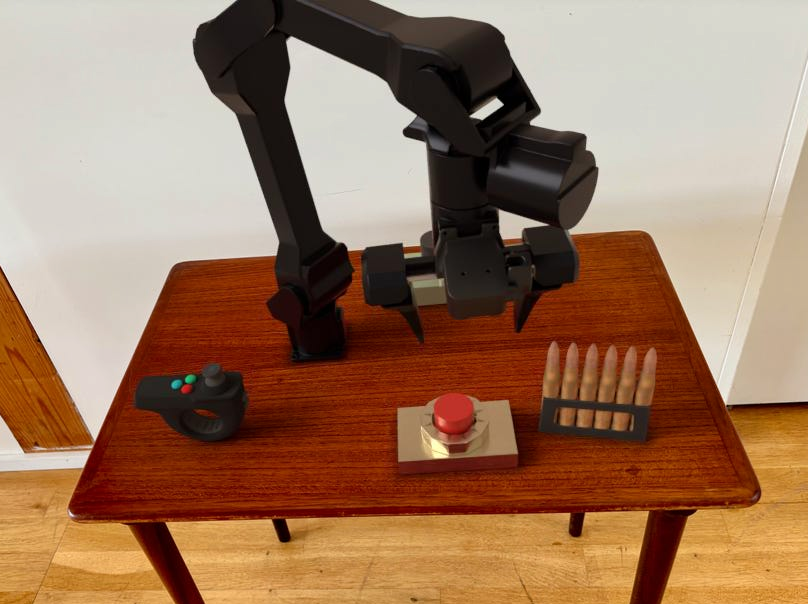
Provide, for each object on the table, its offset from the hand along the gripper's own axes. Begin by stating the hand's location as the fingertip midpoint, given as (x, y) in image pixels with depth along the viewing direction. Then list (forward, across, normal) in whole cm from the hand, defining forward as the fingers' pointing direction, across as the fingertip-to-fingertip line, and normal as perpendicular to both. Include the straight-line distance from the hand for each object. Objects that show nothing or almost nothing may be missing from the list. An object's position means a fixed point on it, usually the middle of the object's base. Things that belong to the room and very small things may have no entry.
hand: (469, 335), depth 69 cm
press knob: (+9, -2, -3) cm, 9 cm away
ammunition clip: (+13, +12, -3) cm, 18 cm away
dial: (+9, -1, +25) cm, 27 cm away
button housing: (+12, -2, -3) cm, 13 cm away
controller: (+13, -30, +2) cm, 33 cm away
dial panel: (+12, -1, +25) cm, 28 cm away
